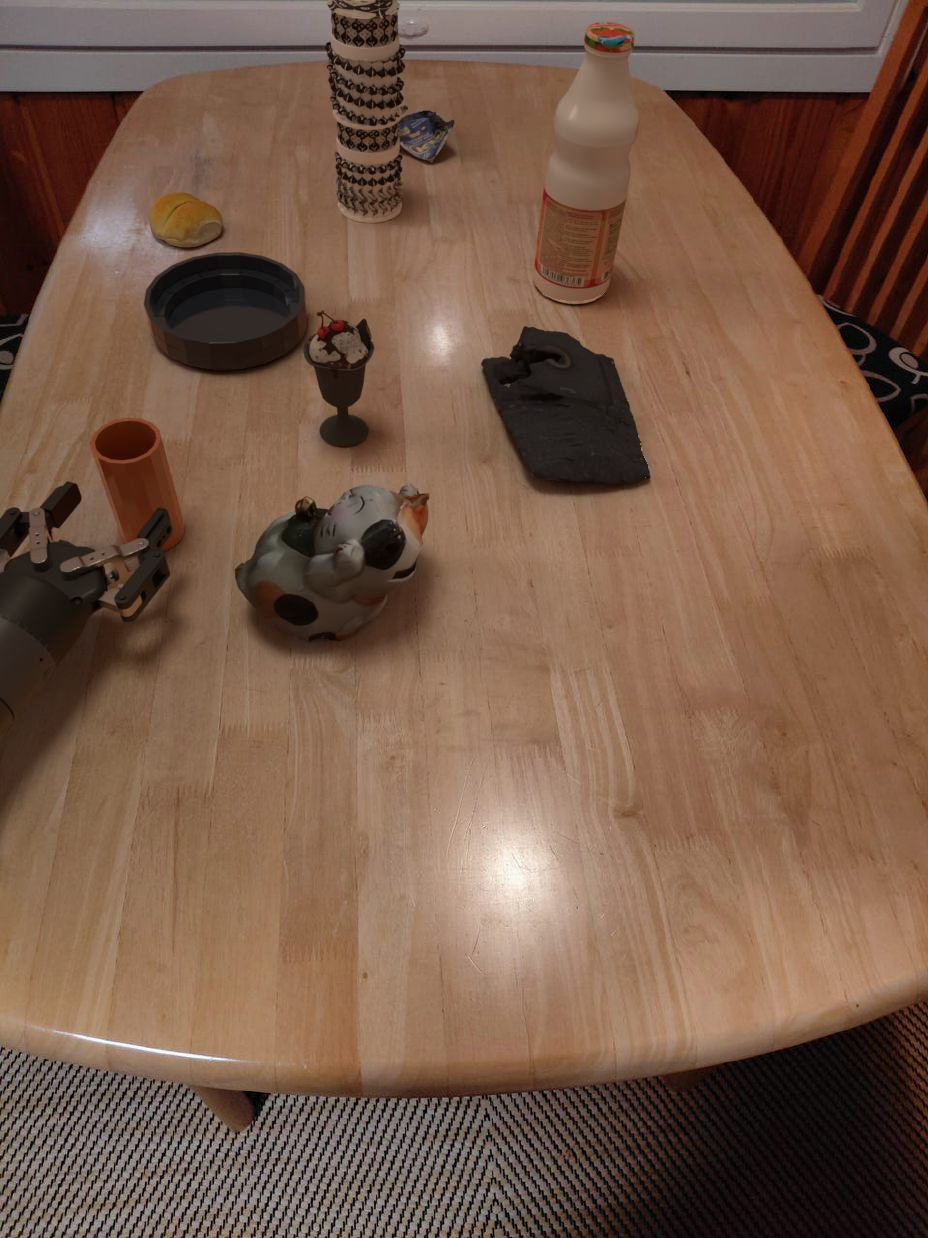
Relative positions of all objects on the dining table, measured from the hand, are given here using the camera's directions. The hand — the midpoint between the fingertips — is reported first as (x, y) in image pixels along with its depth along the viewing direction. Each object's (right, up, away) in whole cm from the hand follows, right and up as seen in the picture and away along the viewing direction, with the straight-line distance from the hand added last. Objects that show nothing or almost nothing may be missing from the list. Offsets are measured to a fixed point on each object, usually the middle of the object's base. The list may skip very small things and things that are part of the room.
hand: (120, 502), depth 79 cm
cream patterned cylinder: (+17, +44, +44) cm, 65 cm away
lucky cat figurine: (+18, -7, +4) cm, 20 cm away
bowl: (+3, +23, +26) cm, 35 cm away
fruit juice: (+42, +31, +35) cm, 63 cm away
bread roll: (-5, +39, +38) cm, 55 cm away
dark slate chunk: (+40, +11, +20) cm, 45 cm away
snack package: (+22, +59, +55) cm, 84 cm away
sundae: (+17, +9, +17) cm, 25 cm away
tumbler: (+1, -2, +7) cm, 7 cm away
